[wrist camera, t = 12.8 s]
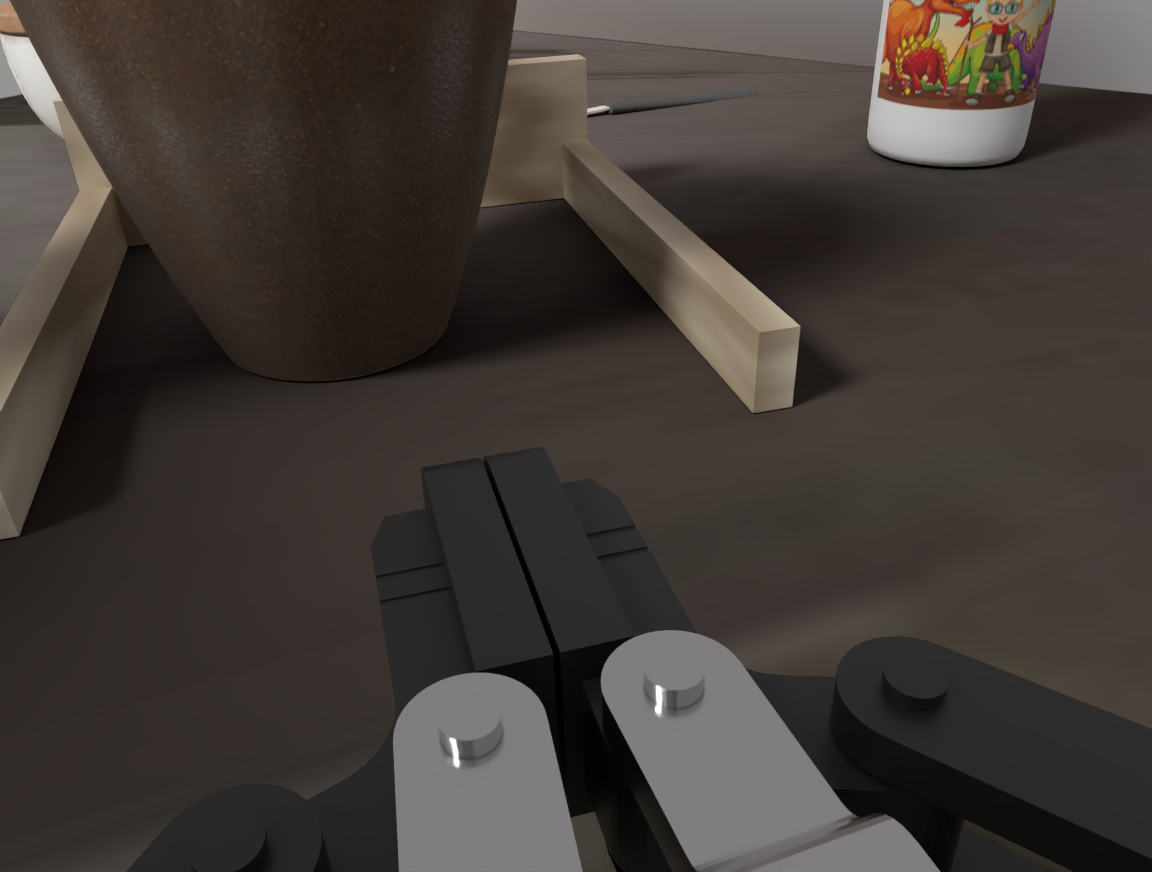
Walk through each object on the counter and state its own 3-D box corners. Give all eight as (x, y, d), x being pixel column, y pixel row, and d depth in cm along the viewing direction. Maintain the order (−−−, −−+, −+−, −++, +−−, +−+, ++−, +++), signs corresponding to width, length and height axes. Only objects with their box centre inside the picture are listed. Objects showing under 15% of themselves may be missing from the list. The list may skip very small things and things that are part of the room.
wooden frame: (-36, 545, 23) (-142, 311, 20) (101, 240, 41) (58, 95, 38) (792, 406, 27) (813, 199, 24) (581, 188, 46) (578, 54, 42)
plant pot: (631, 388, 28) (633, -282, 20) (88, 503, 24) (-197, -291, 16) (489, 234, 40) (453, -225, 32) (109, 292, 36) (-46, -222, 28)
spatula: (295, 153, 55) (290, 127, 54) (728, 92, 65) (729, 69, 65) (319, 180, 50) (315, 152, 49) (782, 109, 61) (784, 84, 60)
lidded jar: (63, 186, 48) (0, -18, 44) (17, 146, 56) (-41, -32, 51) (265, 147, 54) (229, -38, 49) (199, 115, 61) (162, -48, 56)
